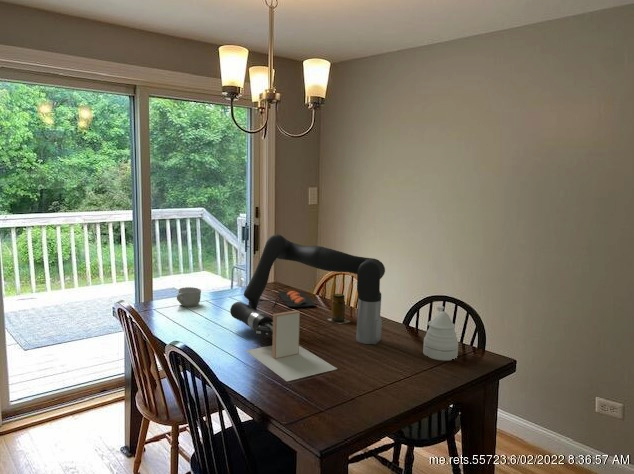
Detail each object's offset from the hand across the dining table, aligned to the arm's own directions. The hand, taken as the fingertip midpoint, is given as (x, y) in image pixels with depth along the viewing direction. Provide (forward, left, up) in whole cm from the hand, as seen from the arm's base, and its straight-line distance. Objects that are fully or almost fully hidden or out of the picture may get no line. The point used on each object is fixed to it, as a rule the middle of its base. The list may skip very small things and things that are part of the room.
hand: (282, 336), depth 174 cm
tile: (-2, +1, -7) cm, 7 cm away
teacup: (+73, -29, -8) cm, 79 cm away
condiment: (+1, -50, -8) cm, 50 cm away
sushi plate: (+40, -62, -8) cm, 74 cm away
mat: (-5, +3, -8) cm, 10 cm away
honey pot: (-49, -35, -8) cm, 61 cm away
